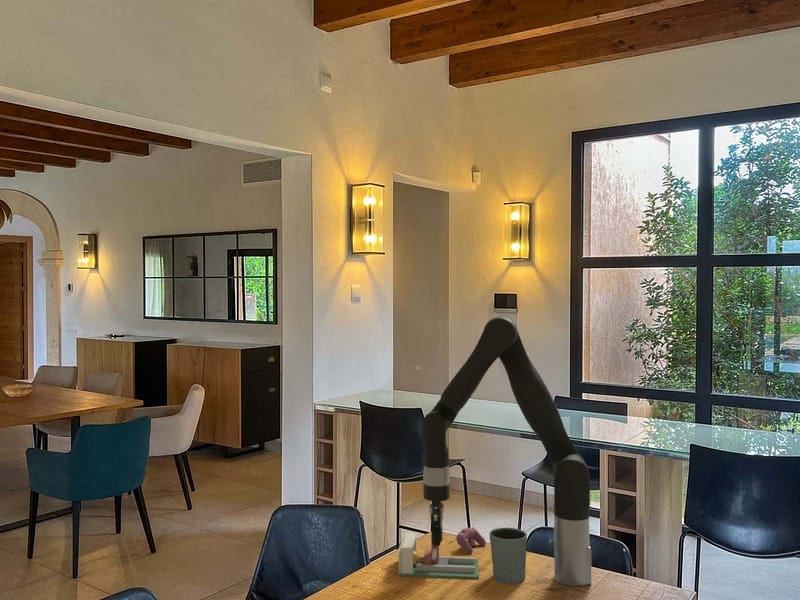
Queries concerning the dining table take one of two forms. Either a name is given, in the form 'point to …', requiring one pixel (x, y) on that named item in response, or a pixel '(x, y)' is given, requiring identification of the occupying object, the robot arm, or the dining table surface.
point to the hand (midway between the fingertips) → (436, 542)
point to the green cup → (508, 555)
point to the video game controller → (469, 539)
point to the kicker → (434, 554)
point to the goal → (407, 553)
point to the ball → (415, 558)
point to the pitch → (447, 568)
